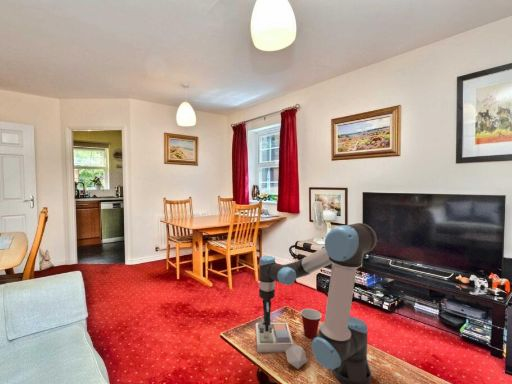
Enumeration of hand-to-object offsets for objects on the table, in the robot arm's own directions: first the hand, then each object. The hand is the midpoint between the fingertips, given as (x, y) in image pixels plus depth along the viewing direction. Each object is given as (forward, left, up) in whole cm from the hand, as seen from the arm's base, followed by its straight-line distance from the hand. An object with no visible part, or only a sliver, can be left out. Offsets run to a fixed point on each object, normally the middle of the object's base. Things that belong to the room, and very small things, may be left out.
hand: (266, 336), depth 138 cm
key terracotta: (+9, -8, -3) cm, 12 cm away
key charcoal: (+9, 0, -1) cm, 9 cm away
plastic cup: (+8, -24, -5) cm, 26 cm away
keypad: (+4, -4, -5) cm, 7 cm away
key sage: (0, 0, -3) cm, 3 cm away
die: (-15, -12, -5) cm, 19 cm away
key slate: (0, -8, -1) cm, 8 cm away
